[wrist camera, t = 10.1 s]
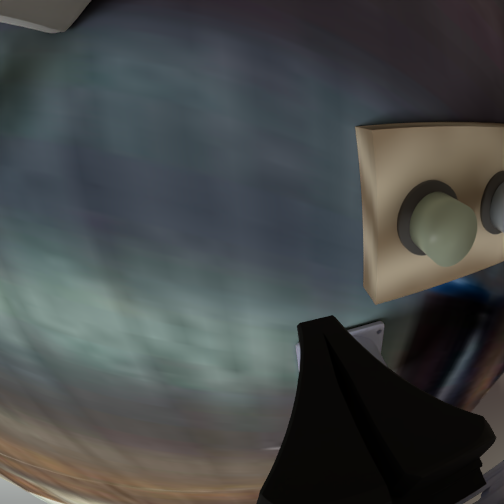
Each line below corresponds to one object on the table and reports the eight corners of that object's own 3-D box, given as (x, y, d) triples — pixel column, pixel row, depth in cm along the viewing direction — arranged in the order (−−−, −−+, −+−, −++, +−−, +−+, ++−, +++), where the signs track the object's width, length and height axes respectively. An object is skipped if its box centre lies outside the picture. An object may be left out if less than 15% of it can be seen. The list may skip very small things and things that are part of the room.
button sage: (452, 242, 17) (472, 258, 15) (407, 254, 18) (426, 273, 15) (456, 188, 16) (480, 200, 13) (410, 196, 16) (432, 210, 14)
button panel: (535, 232, 22) (550, 243, 19) (363, 286, 22) (377, 308, 20) (544, 127, 16) (563, 134, 14) (355, 126, 17) (375, 130, 14)
